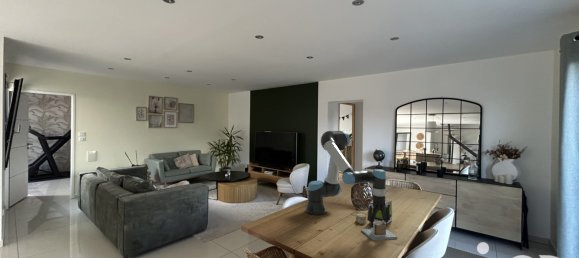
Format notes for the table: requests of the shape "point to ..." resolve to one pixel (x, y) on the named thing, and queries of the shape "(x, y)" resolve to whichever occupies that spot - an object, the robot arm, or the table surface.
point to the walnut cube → (380, 228)
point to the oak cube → (360, 218)
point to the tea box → (379, 214)
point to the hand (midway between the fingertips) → (378, 232)
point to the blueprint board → (378, 237)
